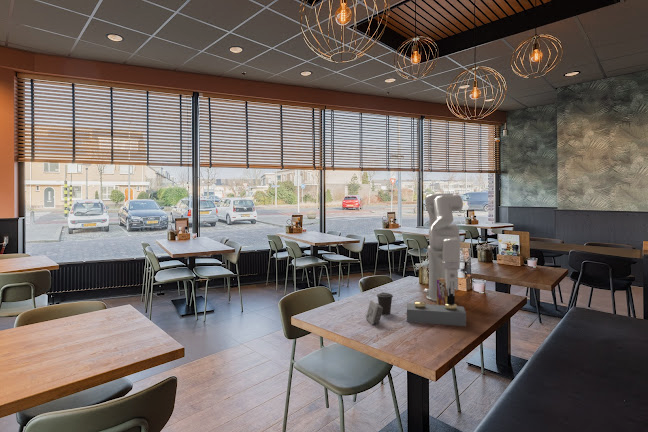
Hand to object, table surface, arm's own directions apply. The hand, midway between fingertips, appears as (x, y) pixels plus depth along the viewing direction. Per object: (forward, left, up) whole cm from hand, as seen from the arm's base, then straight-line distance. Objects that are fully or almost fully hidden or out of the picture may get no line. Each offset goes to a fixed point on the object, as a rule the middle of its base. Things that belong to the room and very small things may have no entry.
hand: (450, 303), depth 167 cm
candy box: (-12, +15, -9) cm, 21 cm away
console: (-6, -4, -8) cm, 11 cm away
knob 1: (-11, -8, -7) cm, 15 cm away
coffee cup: (-29, -13, -9) cm, 33 cm away
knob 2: (0, 0, -7) cm, 7 cm away
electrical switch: (-25, -26, -9) cm, 37 cm away
